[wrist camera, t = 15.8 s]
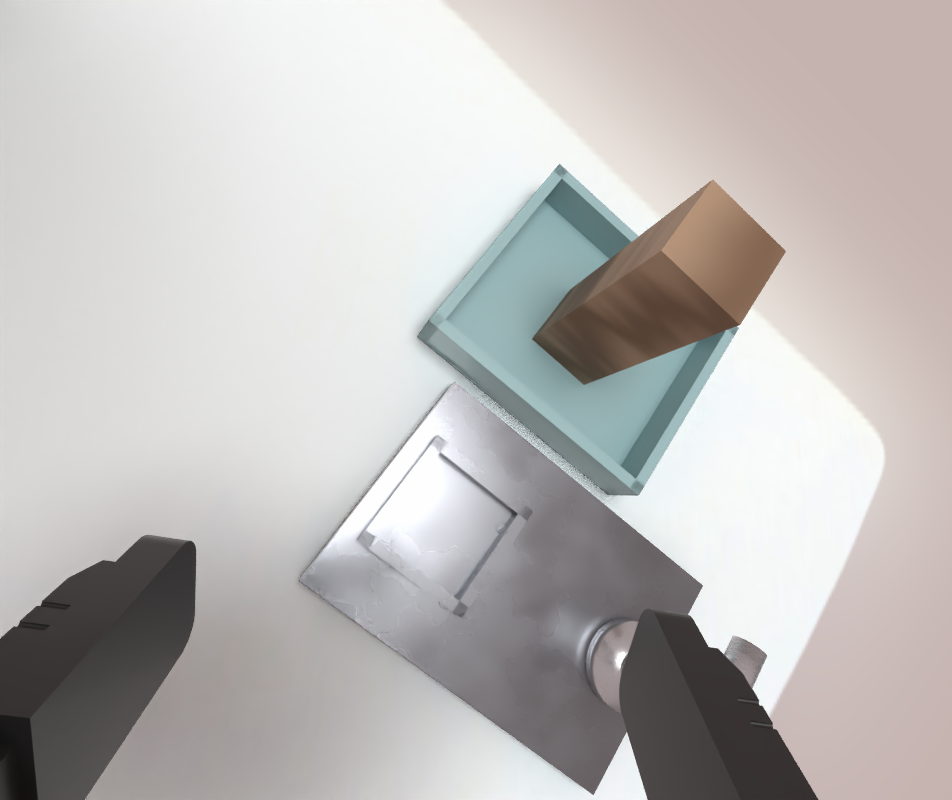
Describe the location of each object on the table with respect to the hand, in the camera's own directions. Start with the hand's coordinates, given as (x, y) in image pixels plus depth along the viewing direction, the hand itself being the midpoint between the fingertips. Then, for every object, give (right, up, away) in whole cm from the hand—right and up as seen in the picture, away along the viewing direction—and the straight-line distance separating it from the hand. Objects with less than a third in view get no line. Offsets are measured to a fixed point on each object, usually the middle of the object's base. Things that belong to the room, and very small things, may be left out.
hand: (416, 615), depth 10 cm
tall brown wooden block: (+7, +8, +22) cm, 24 cm away
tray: (+7, +7, +22) cm, 25 cm away
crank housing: (+3, -6, +19) cm, 20 cm away
